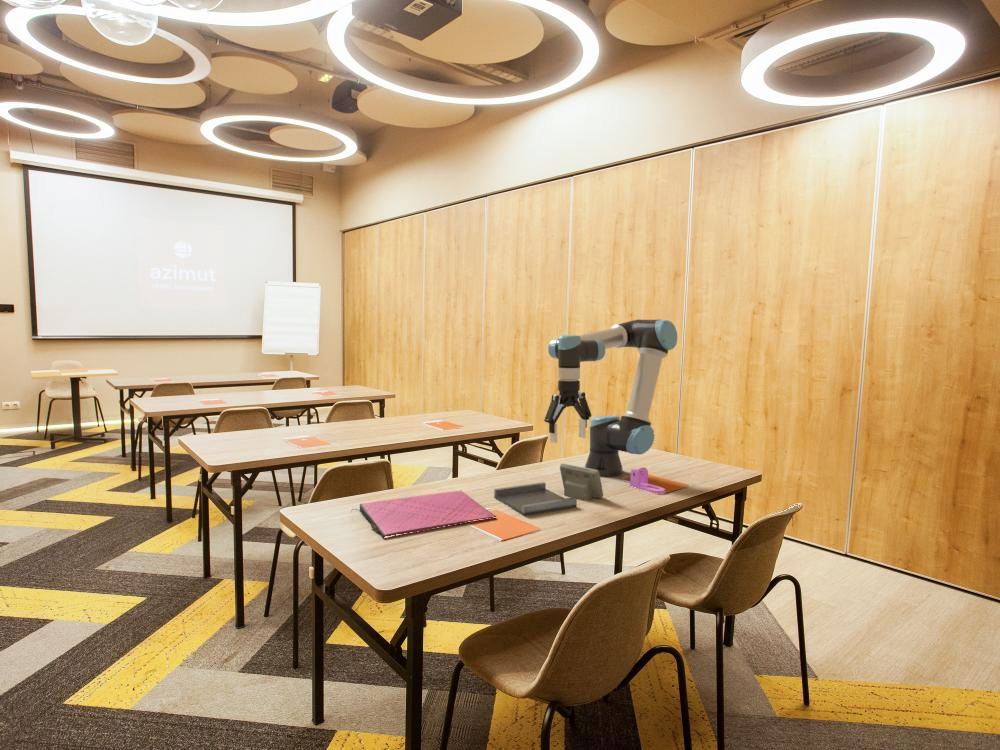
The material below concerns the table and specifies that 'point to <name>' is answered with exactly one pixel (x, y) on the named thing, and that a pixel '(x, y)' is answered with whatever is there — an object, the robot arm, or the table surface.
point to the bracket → (643, 481)
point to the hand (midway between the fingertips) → (568, 439)
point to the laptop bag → (422, 512)
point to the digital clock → (581, 482)
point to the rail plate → (533, 499)
